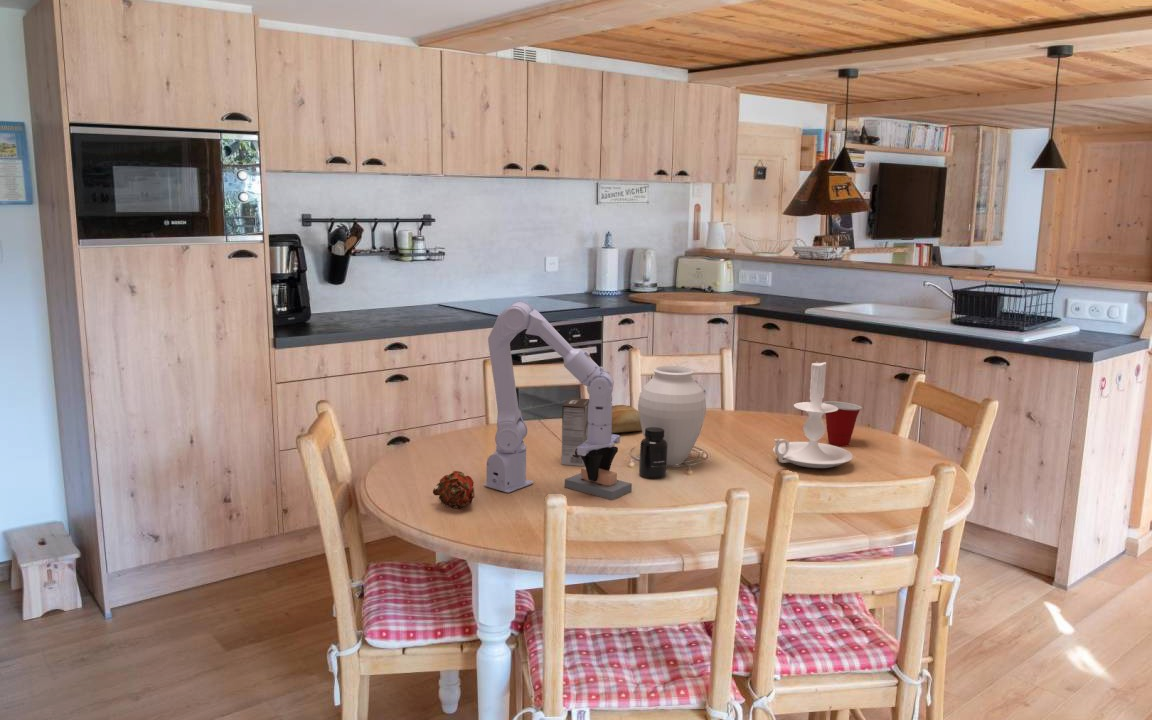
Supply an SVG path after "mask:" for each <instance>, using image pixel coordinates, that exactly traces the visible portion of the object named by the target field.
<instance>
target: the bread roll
mask: <svg viewBox="0 0 1152 720" xmlns="http://www.w3.org/2000/svg"><path fill="white" fill-rule="evenodd" d="M640 431H642V428H641V423H640V418H639V412H638V409H636V408H634V407H632V406H631V405H626V404H615V405H612V433H611V434H617V433H630V432H640Z"/></svg>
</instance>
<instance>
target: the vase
mask: <svg viewBox="0 0 1152 720" xmlns="http://www.w3.org/2000/svg"><path fill="white" fill-rule="evenodd" d="M653 372H654V376H653V377H652V378H651V379H650V380H648V382H647V383H646V384H645V385H644V386H643V387H642V389H641V392H640V394H639V396H638V400H637V402H638V404H637V411H638V412H639V418H640V423H641V428H642V429H641V431H642V435H643V437H644V438H646V437H645V429H646V428H649V427H657V428H662V429H664V438H663V439H664V440H665V441H666V442H667V444H668V447H667V464H666V466H677V465H676V464H680V465H682V464H683V463H682V462H684V461H685V460H686V459H687V458H688V456H689V455H690V453H691V452H692V450H693V448H694V447H695V445H696V443H697V440H698V439H699V436H700V434H701V431H702V428H703V425H704V421H705V417H706V413H707V402H706V396H705V394H704V391H703V388H702V387H701V386H700V385H699V384H698V383H697V382H696V381H695V380H694V378H693V374H694V373H695V372H694V370H692V369H690V368H689V367H685V366H677V365H675V366H674V365H664V366H663V365H662V366H658V367H655V368H653ZM644 438H643V439H644ZM681 463H682V464H681Z"/></svg>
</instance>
